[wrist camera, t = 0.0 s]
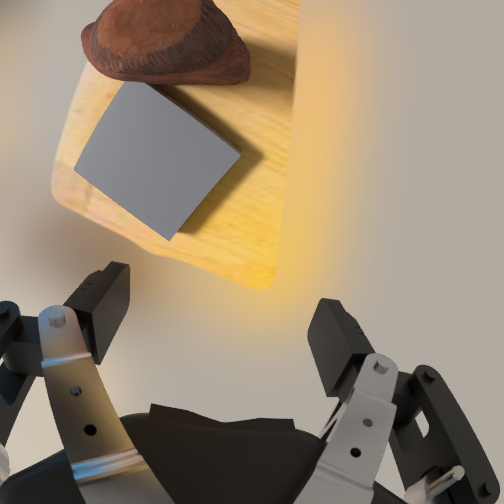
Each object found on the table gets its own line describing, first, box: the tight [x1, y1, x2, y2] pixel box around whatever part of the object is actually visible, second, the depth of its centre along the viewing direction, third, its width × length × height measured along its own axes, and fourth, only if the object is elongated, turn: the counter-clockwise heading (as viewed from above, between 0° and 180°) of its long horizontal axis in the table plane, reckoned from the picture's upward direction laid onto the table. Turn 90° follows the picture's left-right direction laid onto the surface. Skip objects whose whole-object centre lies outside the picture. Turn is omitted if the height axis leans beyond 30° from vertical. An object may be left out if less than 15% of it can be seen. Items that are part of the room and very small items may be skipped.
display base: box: [74, 81, 241, 241], centre depth 28 cm, size 13×15×2 cm
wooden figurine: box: [81, 0, 250, 85], centre depth 16 cm, size 12×6×18 cm, turn 82°
